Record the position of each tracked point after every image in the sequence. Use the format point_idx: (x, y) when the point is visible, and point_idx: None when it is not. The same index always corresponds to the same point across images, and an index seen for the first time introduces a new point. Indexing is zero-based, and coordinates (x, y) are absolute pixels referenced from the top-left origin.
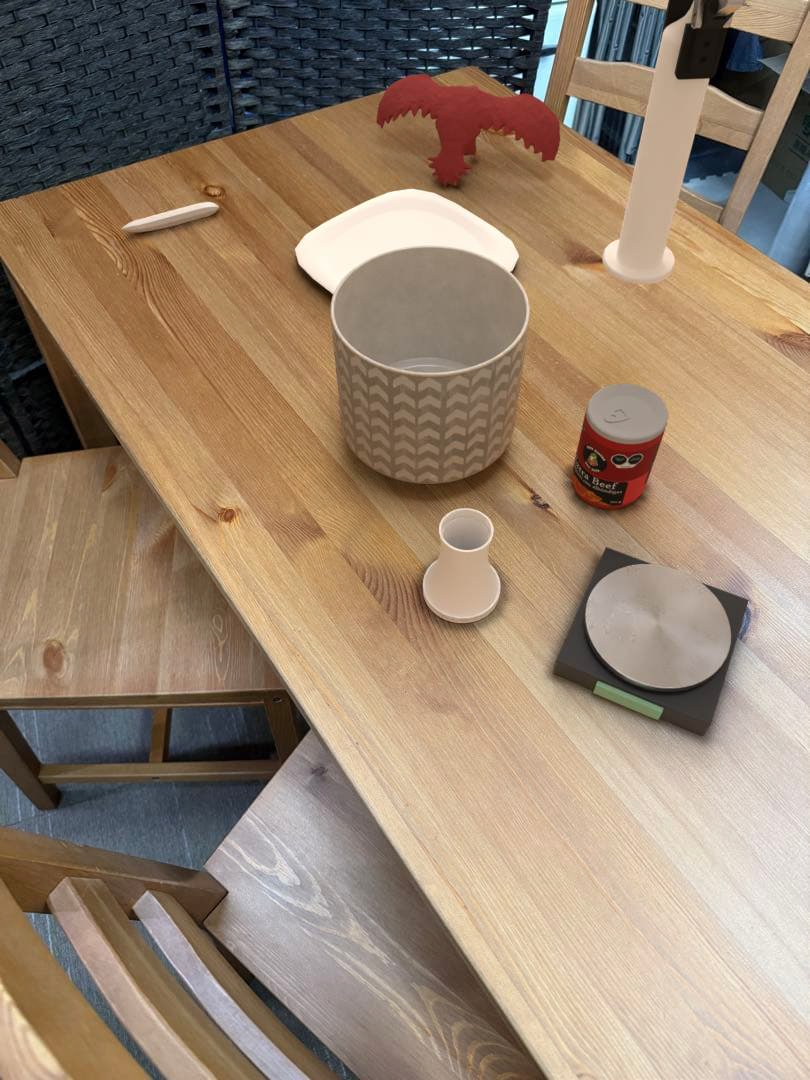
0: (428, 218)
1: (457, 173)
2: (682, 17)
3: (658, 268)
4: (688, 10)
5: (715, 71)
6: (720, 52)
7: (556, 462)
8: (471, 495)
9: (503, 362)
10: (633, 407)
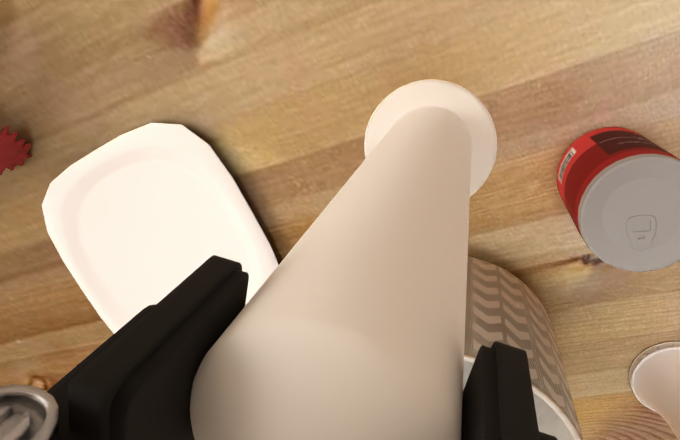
0: (95, 202)
1: (15, 145)
2: (179, 430)
3: (474, 130)
4: (162, 437)
5: (526, 362)
6: (537, 428)
7: (543, 215)
8: (552, 318)
9: (576, 425)
10: (636, 202)
